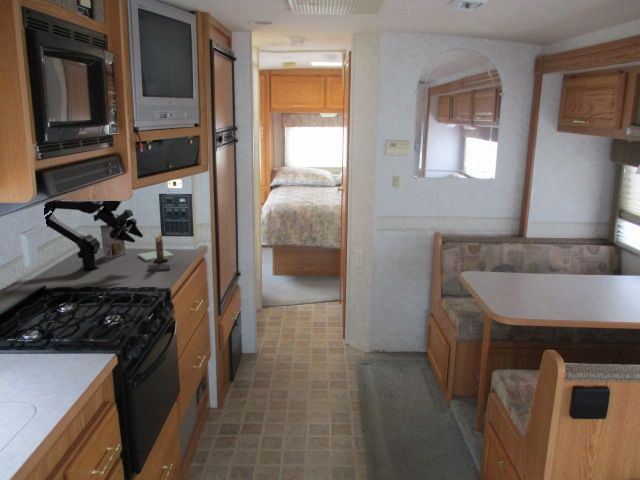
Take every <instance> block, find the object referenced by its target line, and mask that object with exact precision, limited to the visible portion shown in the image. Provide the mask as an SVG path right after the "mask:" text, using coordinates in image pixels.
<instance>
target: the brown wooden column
mask: <svg viewBox="0 0 640 480" xmlns="http://www.w3.org/2000/svg"><path fill="white" fill-rule="evenodd" d="M154 240H155V251H156V254H157V263H165V262H164V253H163V250H164V242H163V234H162V233H158V234H157V236H155V238H154Z"/></svg>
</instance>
